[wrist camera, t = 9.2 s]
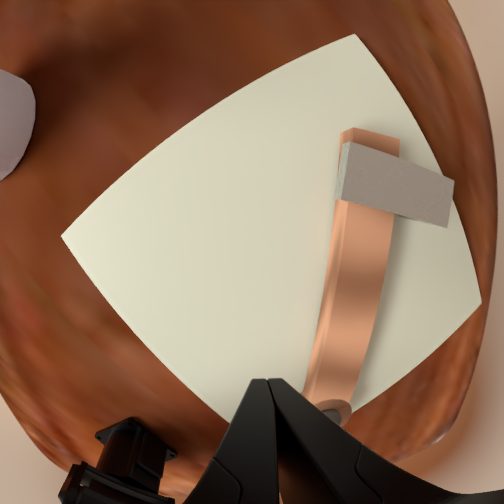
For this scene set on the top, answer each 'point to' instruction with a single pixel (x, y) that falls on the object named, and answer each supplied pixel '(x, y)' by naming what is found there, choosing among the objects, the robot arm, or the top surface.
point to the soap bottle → (14, 120)
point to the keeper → (393, 185)
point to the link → (349, 293)
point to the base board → (269, 235)
